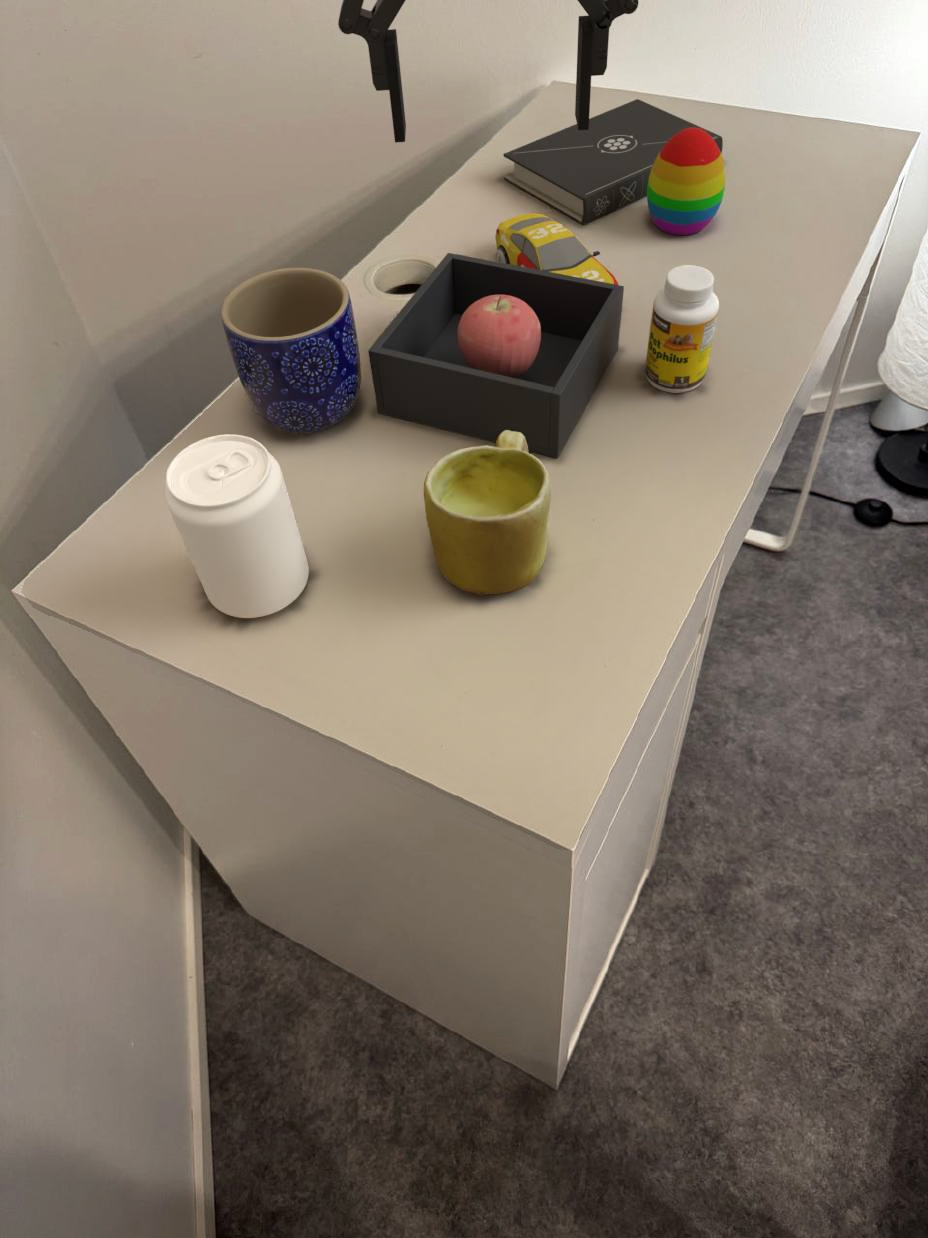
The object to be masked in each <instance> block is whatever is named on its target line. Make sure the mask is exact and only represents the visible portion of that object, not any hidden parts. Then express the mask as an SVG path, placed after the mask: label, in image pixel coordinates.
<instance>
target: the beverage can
mask: <svg viewBox="0 0 928 1238" xmlns="http://www.w3.org/2000/svg"><path fill="white" fill-rule="evenodd" d="M276 459H277V458H275V457H274V456H273V454H271V453H270V452H268V450H267V448H266V447H265V445H263V444H262V443H261V442H260V441H258V440H257V439H255V438H252V437H250V436H246V435H241V434H231V433H228V434H218V435H213V436H209V437H205V438H201V439H199V440H197V441H195V442H194V443H191V444H189V445H188V446H186V447H185V448H183V449H182V450H181V451H180V452H178V454H176V456H174V458H173V459H172V460H171V462H170V463H169V465H168V467H167V470H166V474H165V483H166V484H165V488H164V500H165V503H166V507H167V508H168V511H169V512H170V515H171V517H172V519H173V521H174V524H175V526H176V528H177V531H178V533H179V535H180V538H181V540H182V542H183V544H184V547H185V549H186V552H187V553H188V556H189V558H190V560H191V563H192V566H193V567H194V569H195V572H196V574H197V577H198V579H199V581H200V583H201V586H202V588H203V590H204V593H205V594H206V597H207V599H208V601H209V602H210V604H212V606H213V607H214V608H216V609H217V610H218V611H219V612H221V613H223V614H225V615H228V616H231V617H234V618H238V619H239V618H240V619H255V618H262V617H266V616H269V615H272V614H275V613H278V612H279V611H281V610H283V609H285V608H286V607H288V606H289V605H291V604H292V603H293V602H294V601H295V600H296V599H297V598H298V597H300V595H301V593H303V591H304V590H305V587H306V586H307V583H308V580H309V576H310V567H309V561H308V558H307V555H306V552H305V548H304V544H303V542H302V538H301V534H300V531H299V527H298V524H297V521H296V517H295V514H294V510H293V507H292V503H291V500H290V496H289V493H288V489H287V485H286V482H285V479H284V474H283V472H282V471H283V470H282V468H281V466H280V464H279V462H278V461H277V460H276Z"/></svg>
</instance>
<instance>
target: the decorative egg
mask: <svg viewBox="0 0 928 1238" xmlns="http://www.w3.org/2000/svg"><path fill="white" fill-rule="evenodd" d="M722 155H723V154H721V152H720V150H719V148H718V146H717V144H716V142H715V141H714V139H713V138H712V137H711V136H710V135H709V134H708V133H707V132H706V131H704V130H703V129H700V128H696V127H690V128H686V129H683V130H681V131H680V132H678V133H677V134H675V135H674V136H673V137H672V138H671V139H670V140H669V141H668V142H667V143H666V144H665V145H664V147H663V148H662V149H661V151H660V152H659V154H658V156H657V158H656V160H655V162H654V164H653V166H652V169H651V172H650V176H649V180H648V185H647V196H646V202H647V207H648V212H649V214H650V217H651V218H652V220H653V222H654V224H655V225H656V227H658V228H659V229H660V230H662V231H663V232H664V233H665V232H666V233H668V234H671V235H678V236H687V235H692V234H696V233H699V232H700V231H702V230H703V229H705V228H706V227H707V226H708V225H709V224H710V223H711V221H712V220H713V219H714V218H715V216H716V215H717V213H718V211H719V209H720V207H721V204H722V202H723V197H724V194H725V188H726V169H725V163H724V158H723V156H722Z"/></svg>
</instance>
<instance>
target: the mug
mask: <svg viewBox="0 0 928 1238" xmlns="http://www.w3.org/2000/svg"><path fill="white" fill-rule="evenodd" d="M551 499H552V484H551V477H550V474H549V472H548V470H547V467H546V466H545V464H544V463H543V462H542V461H541V460H540V459H539V458H538V457H536V456H535V455H533V454H531V453H529V451H528V445H527V442H526V439H525V436H524V435H523V434H522V433H520V432H515V431H509V430H505V431H503V432H502V433H501V434H500V435H499V437H498V439H497V440H496V443H495V446H492V445H487V444H486V445H478V446H470V447H465V448H459V449H456V450H454V451H452V452H449V453H447V454H446V455H445V456H443V457H442V458H440V459H439V460H437V461H436V462H435V463H434V464H433V465H432V466H431V467H430V469H429V470H428V471H427V473H426V475H425V478H424V482H423V500H424V508H425V509H424V510H425V517H426V523H427V529H428V533H429V537H430V542H431V543H430V544H431V547H432V551H433V557H434V560H435V563H436V565H437V568H438V569H439V571H440V572H441V574H442V576H444V578H445V579H446V580H447V581H448V582H449V583H450V584H452V585H453V586H454V587H456V588H457V589H458V590H461V591H463V592H467V593H473V594H474V595H480V596H481V595H483V596H484V595H488V594H493V595H494V594H497V595H499V594H506V593H508V592H509V593H510V592H512V591H516V590H518V589H521V588H524V587H525V586H528V585H529V584H531V582H533V581H534V580H535V579H536V577H537V576H538V574H539V572H540V571H541V569H542V568H543V565H544V562H545V560H546V556H547V546H548V545H547V543H548V542H547V529H548V521H549V513H550V507H551V501H552V500H551Z"/></svg>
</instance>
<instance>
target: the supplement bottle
mask: <svg viewBox="0 0 928 1238" xmlns="http://www.w3.org/2000/svg"><path fill="white" fill-rule="evenodd" d="M665 278H666V279H665V284H664V287H662V288H661V289H659V291H657V293H656V295H655V296H654V299H653V303H652V312H651V318H650V326H649V334H648V340H647V341H648V343H647V351H646V358H645V365H644V367H645V368H644V374H645V377H646V380H647V381H648V383H649V384H650V385H651V386H653V387H654V388H656V389H658V390H660V391H663V392H666V393H671V394H679V393H680V394H681V393H682V394H683V393H686V392H690V391H693V390H695V389H697V388H698V387H699V386H701V384H702V383H703V382H704V380H705V378H706V375H707V369H708V365H709V360H710V354H711V351H712V350H711V349H712V346H713V339H714V334H715V329H716V325H717V318H718V315H719V310H720V309H719V308H720V302H719V298H718V296H717V294H716V293H715V292H714V283H715V276H714V274H713V273H712V272H711V270H709V269H707V268H705V267H702V266H700V265H694V264H683V265H678V266H676V267H673V268H672V269H670V270H669V271H668V272H667V274H666V277H665Z"/></svg>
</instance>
